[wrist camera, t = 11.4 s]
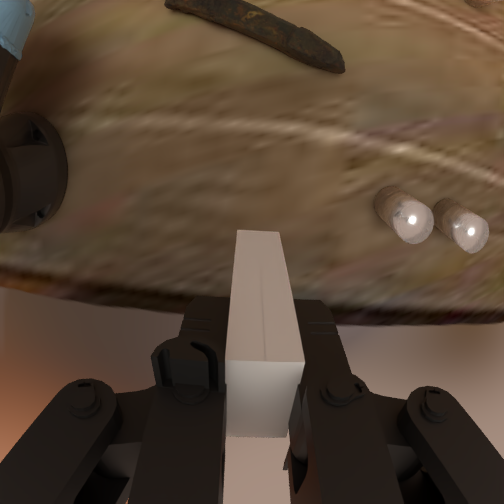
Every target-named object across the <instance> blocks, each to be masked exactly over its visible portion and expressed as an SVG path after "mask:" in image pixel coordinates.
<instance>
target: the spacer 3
mask: <svg viewBox="0 0 504 504" xmlns="http://www.w3.org/2000/svg"><path fill="white" fill-rule="evenodd" d="M465 1H466V2H467V3H468V4H469V5H470V6H472V7H475V8H479V7H482V6H485V5H488V4H491V3H495V2H498V1H501V0H465Z"/></svg>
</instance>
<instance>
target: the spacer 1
mask: <svg viewBox="0 0 504 504" xmlns="http://www.w3.org/2000/svg"><path fill="white" fill-rule="evenodd" d="M374 208H375V211H376V213H377V215H378V216H379V217H380V218H381V219H382V220H383V221H384V222H385V223H386V224H388V225H389V226H390V227H391V228H392V229H393V230H394V231H395V232H396V233H397V234H398V235H399V236H400V237H401V238H402V239H403V240H404V241H405V242H407V243H410V244H417V243H420V242H422V241H424V240H425V239H426V238H427V237H428V236H429V235H430V233H431V231H432V229H433V225H434V217H433V214H432V212H431V210H430V209H429V208H428V207H427V206H425V205H424V204H422V203H421V202H419V201H418V200H416V199H415V198H413V197H412V196H410V195H409V194H407V193H405V192H404V191H402V190H401V189H399V188H397V187H394V186H388V187H385V188H383V189H381V190H380V191H379V192H378V194H377V195H376V197H375V201H374Z"/></svg>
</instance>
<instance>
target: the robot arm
mask: <svg viewBox="0 0 504 504" xmlns="http://www.w3.org/2000/svg"><path fill="white" fill-rule="evenodd" d="M34 19H35V10H34V7H33V5H32V3H31V2H30V1H29V0H0V112H1V108H2V105H3V102H4V99H5V96H6V93H7V90H8V87H9V84H10V81H11V78H12V76H13V73H14V70H15V68H16V65H17V63H18V60H19V61H20V60H21V58H22V50H23V47H24V45H25V42H26V40H27V37H28V35H29V32H30V30H31V28H32V25H33V23H34ZM66 184H67V160H66V155H65V150H64V147H63V144H62V141H61V139H60V137H59V135H58V133H57V132H56V130H55V129H54V127H53V126H52V125H51V124H50V123H49V122H48V121H47V120H46V119H45V118H43V117H42V116H40V115H38V114H35V113H32V112H21V113H14V114H10V115H7V116H4V117H2V118H1V119H0V234H1V233H9V232H18V231H26V230H30V229H33V228H35V227H37V226H39V225H40V224H42V223H44V222H45V221H47V220H48V219H49V218H51V217H52V216H53V215H54V213H55V212H56V211H57V209H58V208H59V206H60V204H61V202H62V200H63V197H64V194H65V190H66ZM151 360H152V366H153V371H154V376H155V381H156V385H155V386H152V387H150V388H148V389H145V390H140V391H136V392H126V393H116V394H115V393H114V392H113V390H112V388H111V387H110V386H108V385H107V384H105V383H104V382H102V381H99V380H95V379H79V380H76V381H74V382H72V383H69V384H67V385H66V386H65V387H64V388H63V389H61V390H60V391H59V392H58V393H57V395H56V396H55V397H54V398H53V399H52V401H51V402H50V403H49V404H48V405H47V406H46V408H45V409H44V410H43V411H42V412H41V413H40V415H39V416H38V417H37V418H36V420H35V421H34V422H33V423H32V424H31V426H30V427H29V428H28V429H27V430H26V432H25V433H24V434H23V435H22V437H21V438H20V439H19V440H18V442H17V443H16V444H15V445H14V447H13V448H12V449H11V450H10V452H9V453H8V454H7V455H6V457H5V458H4V459H3V461H2V462H1V463H0V504H125V503H126V501H127V500H128V504H223V488H224V469H225V439H226V436H235V437H272V438H275V437H286V436H287V432H288V429H289V435H290V446H289V449H288V452H287V456H286V459H285V462H284V467H283V470H288V473H289V486H290V498H291V499H290V500H291V504H504V459H503V458H502V457H501V455H500V454H499V453H498V451H497V450H496V449H495V447H494V446H493V445H492V444H491V442H490V441H489V440H488V438H487V437H486V436H485V435H484V433H483V432H482V431H481V430H480V428H479V427H478V426H477V425H476V423H475V422H474V421H473V420H472V418H471V417H470V416H469V415H468V414H467V412H466V411H465V410H464V409H463V407H462V406H461V405H460V404H459V402H458V401H457V400H456V399H455V398H454V397H453V396H452V395H451V394H449V393H448V392H447V391H445V390H443V389H441V388H438V387H432V386H425V387H419V388H417V389H416V390H414V391H413V392H411V394H410V396H409V397H408V399H407V400H404V399H397V398H392V397H386V396H381V395H378V394H374V393H372V392H370V391H369V389H368V388H367V386H366V384H365V383H364V382H363V381H362V380H361V379H360V378H358V377H357V376H356V375H353V374H352V373H351V370H350V367H349V364H348V361H347V357H346V354H345V351H344V348H343V345H342V343H341V340H340V336H339V335H338V331H337V328H336V325H335V322H334V319H333V316H332V313H331V310H330V309H329V308H328V307H327V306H326V305H325V304H324V303H323V302H322V301H321V300H300V299H293V297H292V292H291V287H290V282H289V277H288V272H287V268H286V263H285V258H284V253H283V249H282V244H281V239H280V234H279V232H270V231H252V230H237V239H236V249H235V258H234V268H233V279H232V289H231V298H226V297H209V296H196V297H195V298H194V299H193V300H192V301H191V302H190V303H189V304H188V305H187V307H186V311H185V314H184V320H183V321H182V325H181V330H180V332H179V336H178V337H176V338H173V339H169V340H166V341H165V342H163V343H162V344H160V345H159V346H157V347H156V349H155V350H154V352H153V353H152V355H151ZM128 498H129V499H128Z"/></svg>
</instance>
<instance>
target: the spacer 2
mask: <svg viewBox="0 0 504 504" xmlns="http://www.w3.org/2000/svg"><path fill="white" fill-rule="evenodd" d="M432 214H433V217H434V225H435V227H436V228H438V229H439V230H440V231H442V232H443V233H444V234H445V235H447V236H448V237H449V238H450V239H452V240H453V241H454V242H455V243H456V244H458V245H459V246H460V247H461V248H463V249H464V250H465V251H466V252H468V253H475V252H478V251H479V250H480V249H482V247H483V246H484V245H485V243H486V241H487V239H488V235H489V227H488V224H487V222H486V221H485V220H484V219H483V218H481V217H479V216H478V215H476V214H475V213H473V212H471V211H470V210H468V209H466V208H465V207H463V206H461V205H459V204H458V203H456V202H454V201H453V200H451V199H442V200H440V201H439V202H438V203H437V204H436V205H435V207H434V209H433V212H432Z"/></svg>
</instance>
